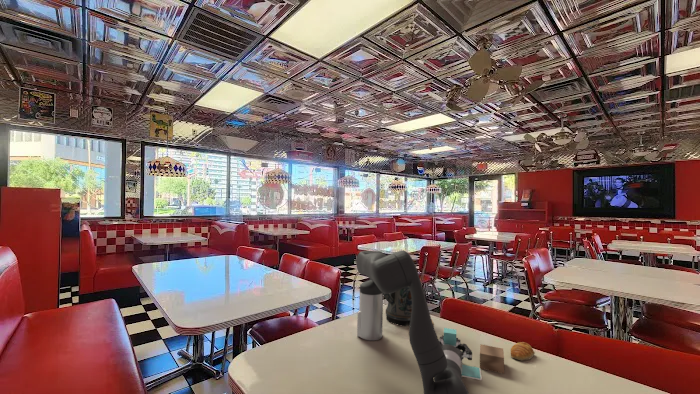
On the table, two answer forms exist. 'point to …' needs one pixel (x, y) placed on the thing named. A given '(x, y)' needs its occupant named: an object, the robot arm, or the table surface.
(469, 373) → the tile
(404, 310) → the beer stein
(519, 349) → the pastry
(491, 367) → the walnut block
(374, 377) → the table surface
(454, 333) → the teal block
